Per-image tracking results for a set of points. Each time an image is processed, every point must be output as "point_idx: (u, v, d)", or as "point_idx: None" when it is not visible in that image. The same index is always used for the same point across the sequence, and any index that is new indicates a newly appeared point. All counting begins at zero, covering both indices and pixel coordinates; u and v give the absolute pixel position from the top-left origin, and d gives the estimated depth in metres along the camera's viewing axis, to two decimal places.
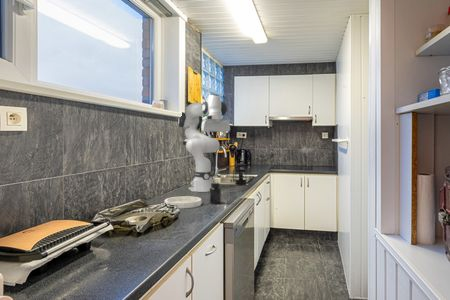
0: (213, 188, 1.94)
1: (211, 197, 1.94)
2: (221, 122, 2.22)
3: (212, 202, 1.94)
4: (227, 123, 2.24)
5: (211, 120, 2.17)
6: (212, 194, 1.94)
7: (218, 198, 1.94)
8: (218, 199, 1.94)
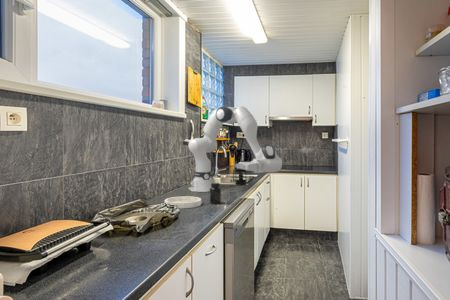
0: (213, 188, 1.94)
1: (211, 197, 1.94)
2: None
3: (212, 202, 1.94)
4: None
5: (255, 171, 1.96)
6: (212, 194, 1.94)
7: (218, 198, 1.94)
8: (218, 199, 1.94)
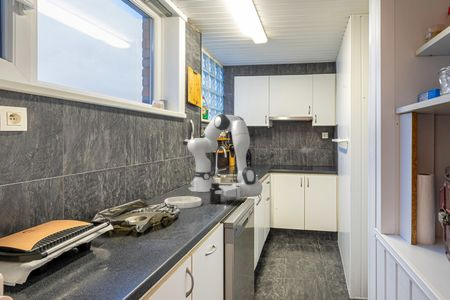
0: (213, 188, 1.94)
1: (211, 197, 1.94)
2: None
3: (212, 202, 1.94)
4: None
5: None
6: (212, 194, 1.94)
7: (218, 198, 1.94)
8: (218, 199, 1.94)
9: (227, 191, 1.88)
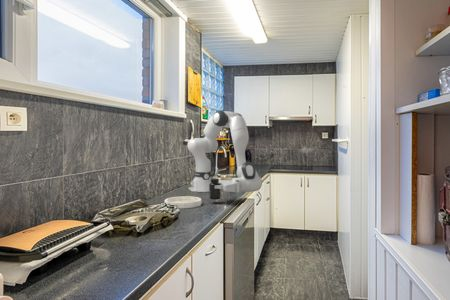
0: (213, 183, 1.94)
1: (211, 192, 1.94)
2: None
3: (212, 197, 1.94)
4: None
5: None
6: (211, 190, 1.94)
7: (218, 193, 1.94)
8: (218, 194, 1.94)
9: (227, 186, 1.88)
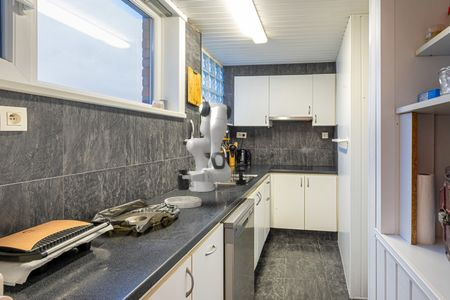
0: (180, 174, 1.90)
1: (179, 183, 1.90)
2: None
3: (180, 188, 1.90)
4: None
5: None
6: (179, 180, 1.89)
7: (186, 184, 1.90)
8: (186, 185, 1.90)
9: (194, 175, 1.83)
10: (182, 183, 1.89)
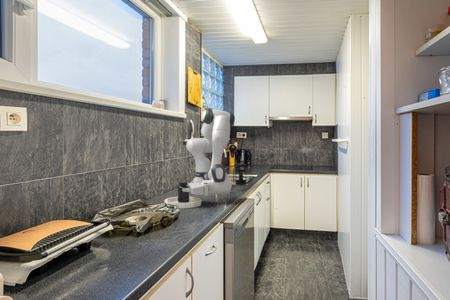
0: (181, 187, 1.90)
1: (179, 196, 1.90)
2: None
3: (180, 201, 1.90)
4: None
5: None
6: (179, 193, 1.90)
7: (186, 197, 1.90)
8: (186, 198, 1.90)
9: (194, 189, 1.84)
10: (182, 196, 1.89)
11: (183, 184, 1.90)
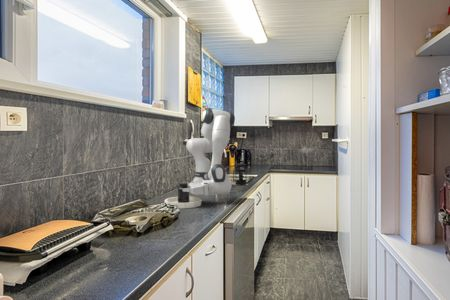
0: (181, 188, 1.90)
1: (179, 197, 1.90)
2: None
3: (180, 202, 1.90)
4: None
5: None
6: (179, 194, 1.90)
7: (186, 198, 1.90)
8: (186, 199, 1.90)
9: (194, 188, 1.84)
10: (182, 197, 1.89)
11: (183, 185, 1.90)
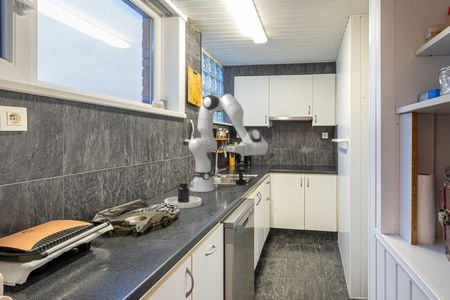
0: (181, 188, 1.90)
1: (179, 197, 1.90)
2: None
3: (180, 202, 1.90)
4: None
5: (241, 153, 2.05)
6: (179, 194, 1.90)
7: (186, 198, 1.90)
8: (186, 199, 1.90)
9: (235, 147, 1.98)
10: (182, 197, 1.89)
11: (183, 185, 1.90)
